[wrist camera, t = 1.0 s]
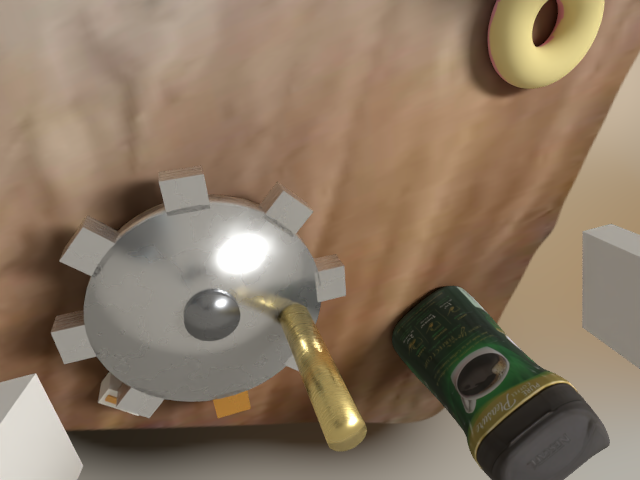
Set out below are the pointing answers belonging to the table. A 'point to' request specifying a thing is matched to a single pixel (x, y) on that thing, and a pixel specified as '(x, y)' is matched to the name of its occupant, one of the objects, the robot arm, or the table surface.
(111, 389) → the pointer
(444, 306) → the coffee jar
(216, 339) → the sprocket
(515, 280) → the table surface
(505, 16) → the donut
